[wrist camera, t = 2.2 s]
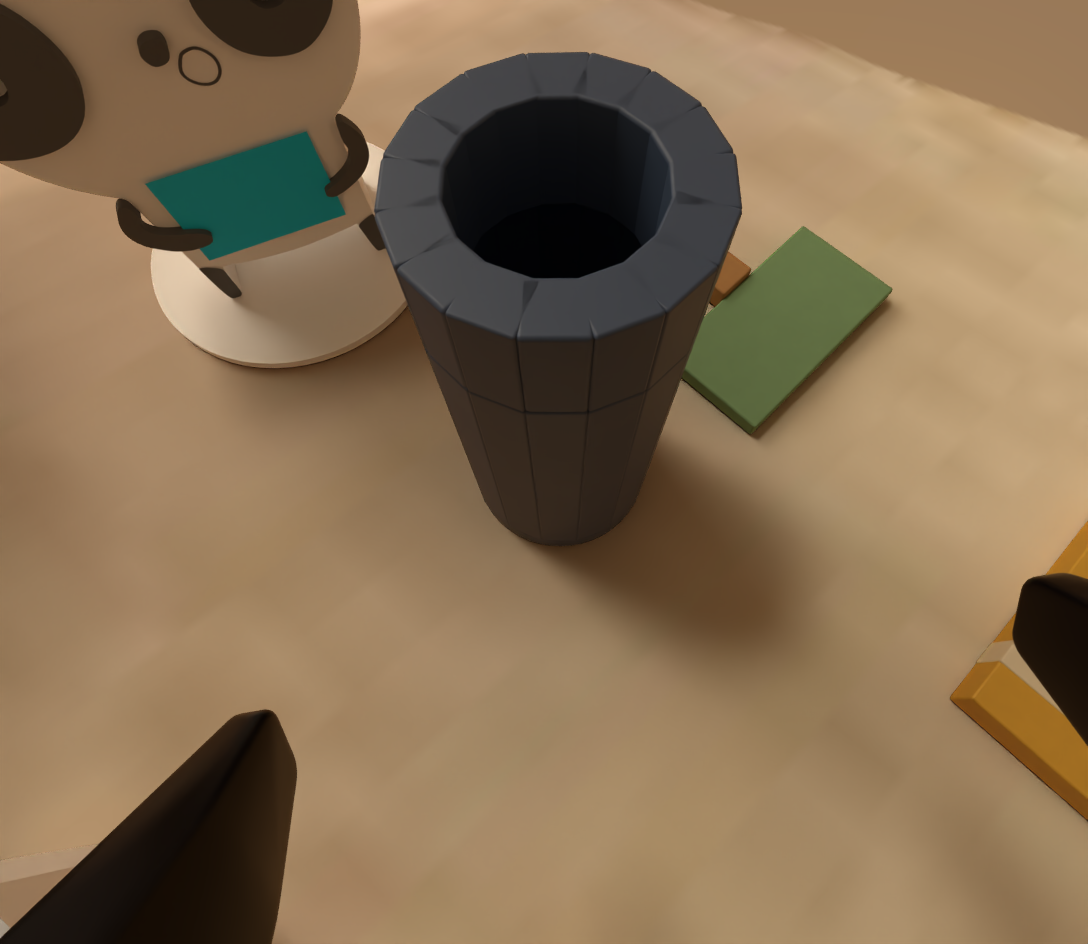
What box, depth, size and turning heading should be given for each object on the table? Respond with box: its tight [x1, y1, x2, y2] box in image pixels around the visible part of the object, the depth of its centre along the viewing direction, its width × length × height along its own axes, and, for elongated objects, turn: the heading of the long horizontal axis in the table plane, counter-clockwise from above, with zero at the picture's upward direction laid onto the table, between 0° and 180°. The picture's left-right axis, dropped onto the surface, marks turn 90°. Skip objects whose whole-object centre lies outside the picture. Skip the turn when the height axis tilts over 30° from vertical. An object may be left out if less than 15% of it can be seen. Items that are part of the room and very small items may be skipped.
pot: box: [374, 52, 742, 546], centre depth 16 cm, size 6×6×13 cm
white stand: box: [0, 0, 408, 368], centre depth 19 cm, size 12×11×15 cm
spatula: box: [682, 226, 892, 434], centre depth 24 cm, size 11×8×1 cm
